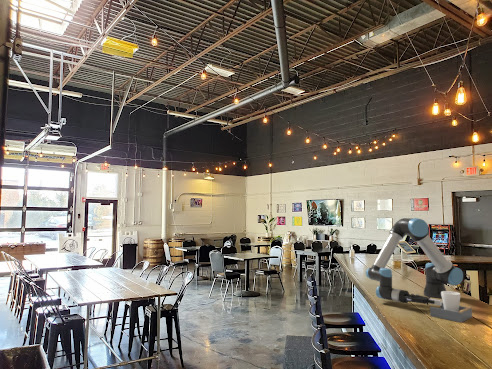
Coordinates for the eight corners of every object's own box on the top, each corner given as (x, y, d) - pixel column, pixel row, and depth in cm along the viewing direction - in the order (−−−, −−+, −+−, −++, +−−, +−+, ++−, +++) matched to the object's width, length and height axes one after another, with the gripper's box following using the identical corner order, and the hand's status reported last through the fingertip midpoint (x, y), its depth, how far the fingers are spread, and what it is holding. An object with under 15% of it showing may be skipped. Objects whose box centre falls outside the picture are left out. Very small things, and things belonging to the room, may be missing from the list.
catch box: (441, 311, 214) (441, 301, 214) (471, 317, 202) (471, 306, 202) (430, 316, 203) (429, 305, 204) (461, 322, 191) (461, 311, 192)
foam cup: (452, 319, 197) (451, 295, 199) (438, 314, 206) (437, 291, 207) (465, 317, 201) (464, 293, 202) (450, 313, 209) (449, 290, 210)
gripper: (405, 300, 228) (445, 308, 211) (396, 303, 220) (436, 311, 202) (405, 288, 229) (445, 294, 211) (395, 291, 221) (436, 298, 203)
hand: (441, 303), depth 207 cm, fingers closed
